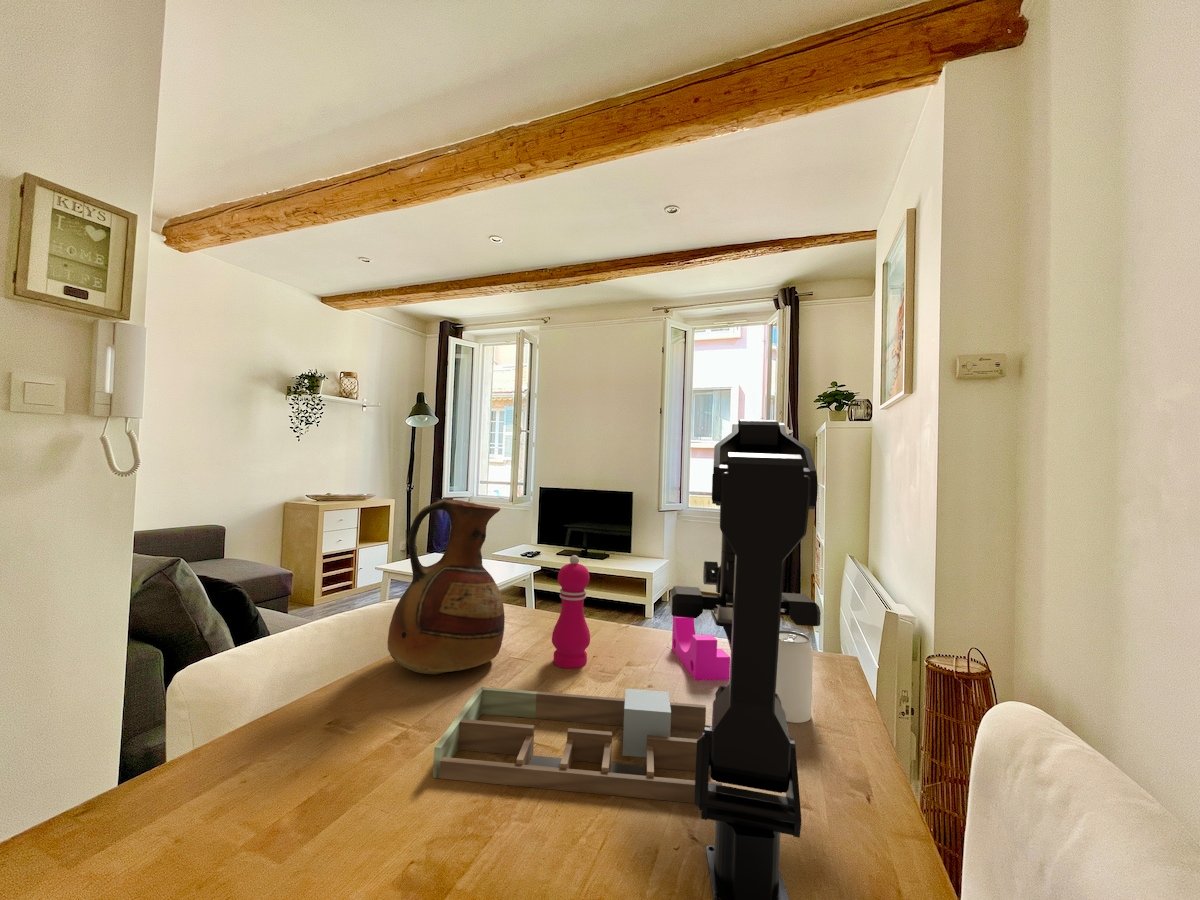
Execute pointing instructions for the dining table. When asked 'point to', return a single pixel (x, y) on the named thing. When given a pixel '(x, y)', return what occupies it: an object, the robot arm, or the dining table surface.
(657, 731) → the cube
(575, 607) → the pepper mill
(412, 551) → the ceramic pitcher
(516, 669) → the dining table surface
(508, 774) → the wooden compartment tray
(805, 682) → the can
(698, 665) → the toy block
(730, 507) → the robot arm
